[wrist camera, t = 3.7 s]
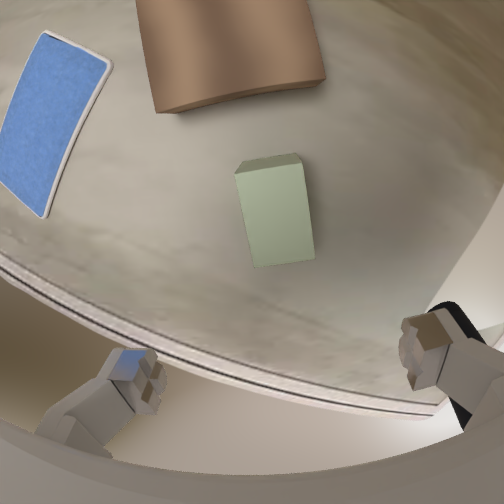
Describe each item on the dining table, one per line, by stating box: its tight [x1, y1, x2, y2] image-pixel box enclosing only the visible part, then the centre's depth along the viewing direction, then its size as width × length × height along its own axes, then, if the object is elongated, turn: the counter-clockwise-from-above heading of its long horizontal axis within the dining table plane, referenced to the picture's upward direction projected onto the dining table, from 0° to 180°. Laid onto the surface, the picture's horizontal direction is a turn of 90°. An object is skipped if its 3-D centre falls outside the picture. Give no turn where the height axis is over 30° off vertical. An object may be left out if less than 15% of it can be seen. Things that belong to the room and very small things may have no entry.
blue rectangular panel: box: [0, 30, 114, 219], centre depth 23 cm, size 19×13×1 cm, turn 144°
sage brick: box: [234, 153, 315, 268], centre depth 23 cm, size 4×7×6 cm, turn 11°
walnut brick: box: [136, 0, 326, 114], centre depth 17 cm, size 12×12×5 cm
